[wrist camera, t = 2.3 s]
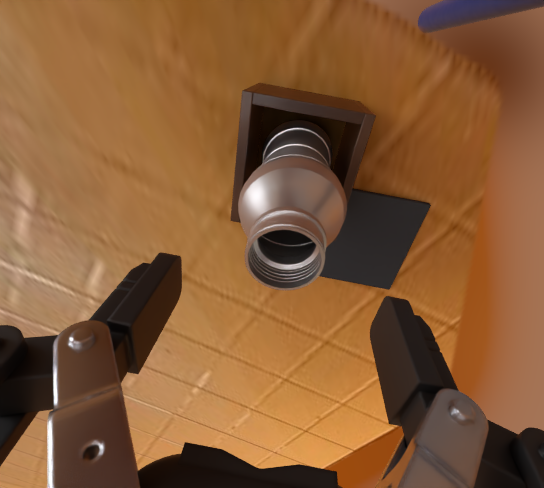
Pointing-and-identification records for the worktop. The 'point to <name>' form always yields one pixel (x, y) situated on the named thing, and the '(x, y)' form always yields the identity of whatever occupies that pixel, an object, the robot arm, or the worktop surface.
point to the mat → (373, 238)
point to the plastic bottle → (291, 207)
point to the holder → (304, 103)
